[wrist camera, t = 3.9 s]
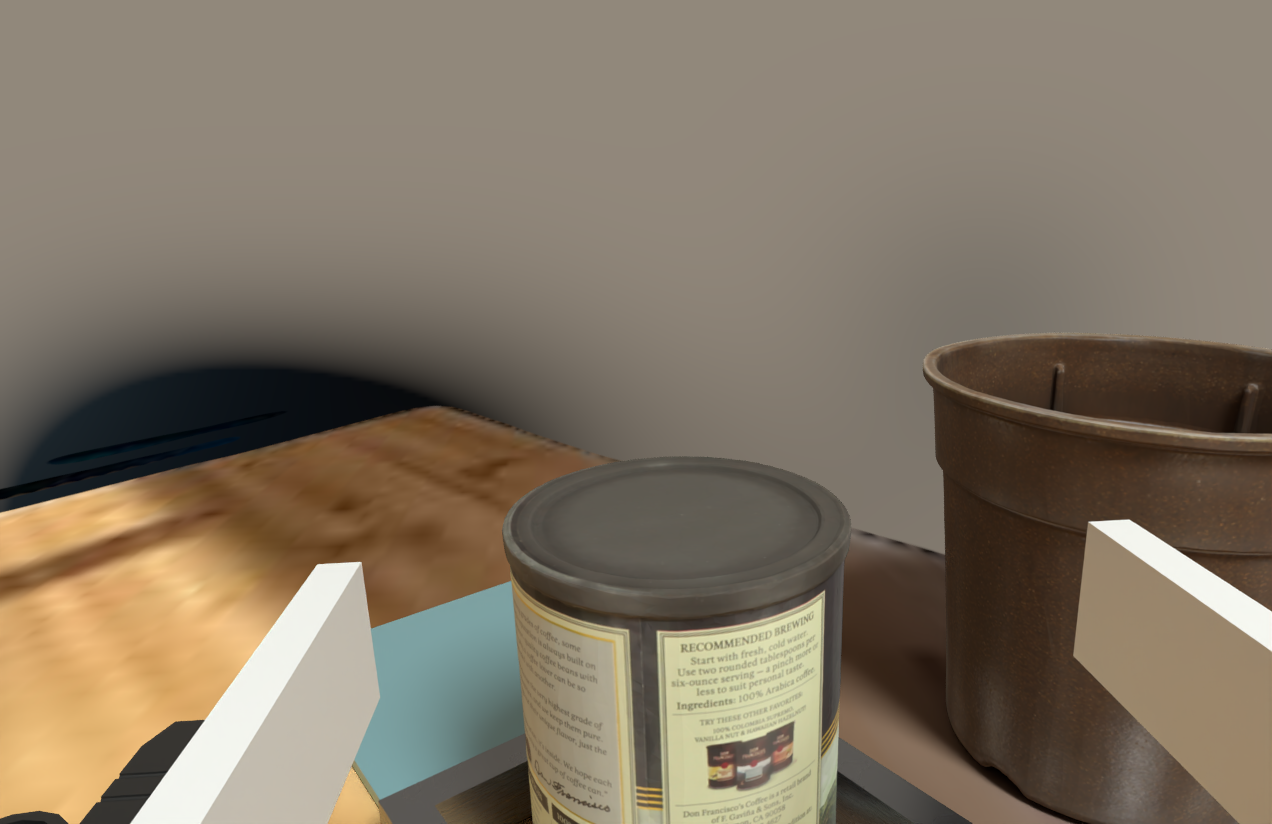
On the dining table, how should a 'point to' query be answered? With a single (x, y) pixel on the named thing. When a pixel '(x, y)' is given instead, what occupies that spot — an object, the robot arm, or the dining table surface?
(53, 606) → the dining table surface
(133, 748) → the dining table surface
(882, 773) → the socket frame
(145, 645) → the dining table surface
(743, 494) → the coffee can
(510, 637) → the mat
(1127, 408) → the plant pot
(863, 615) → the dining table surface
